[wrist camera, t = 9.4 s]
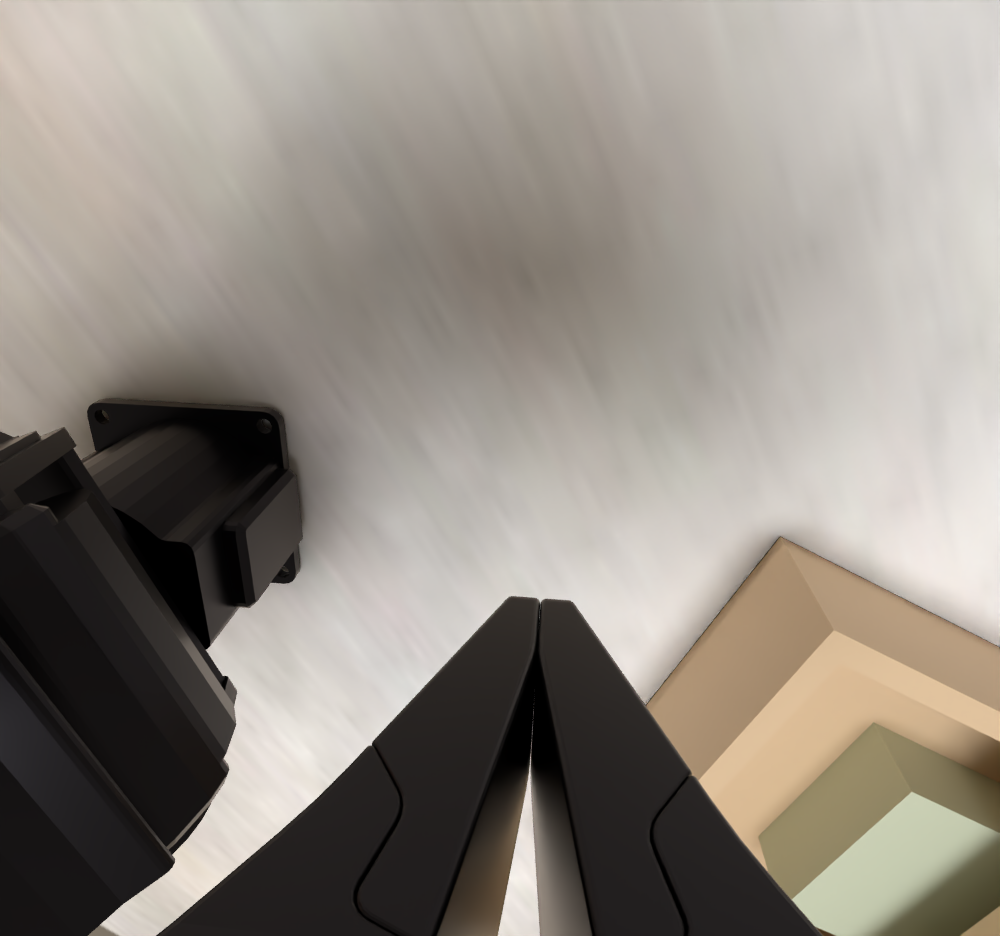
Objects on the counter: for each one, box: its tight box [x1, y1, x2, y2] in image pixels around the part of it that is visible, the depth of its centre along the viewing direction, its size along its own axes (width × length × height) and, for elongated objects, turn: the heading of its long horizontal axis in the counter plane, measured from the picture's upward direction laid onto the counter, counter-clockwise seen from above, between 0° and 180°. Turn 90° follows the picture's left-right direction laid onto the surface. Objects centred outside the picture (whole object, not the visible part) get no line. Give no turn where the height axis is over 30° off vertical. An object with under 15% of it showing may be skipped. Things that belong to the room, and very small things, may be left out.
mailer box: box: [646, 537, 1000, 936], centre depth 24 cm, size 20×16×5 cm
